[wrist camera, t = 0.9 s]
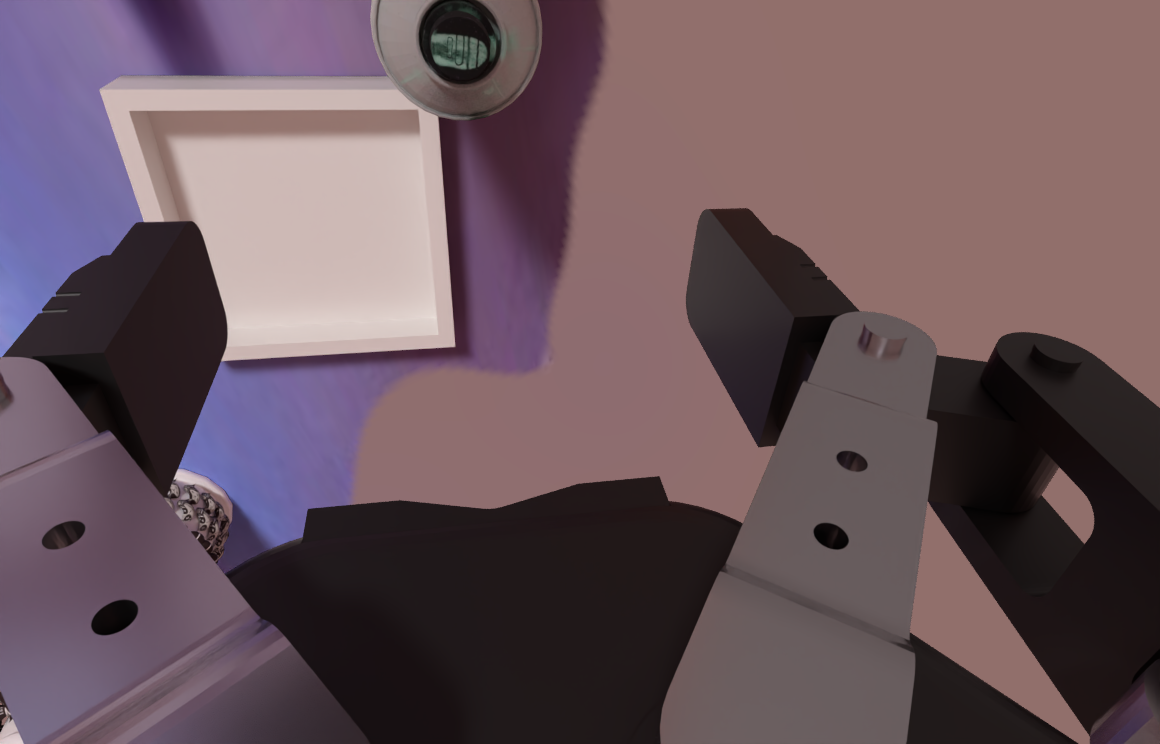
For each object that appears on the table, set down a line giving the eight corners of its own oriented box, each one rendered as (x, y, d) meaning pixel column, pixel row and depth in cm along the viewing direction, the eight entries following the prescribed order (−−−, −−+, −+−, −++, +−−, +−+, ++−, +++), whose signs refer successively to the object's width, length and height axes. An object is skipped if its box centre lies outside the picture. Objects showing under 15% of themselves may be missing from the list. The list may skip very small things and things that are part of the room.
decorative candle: (225, 558, 57) (112, 931, 36) (94, 536, 53) (-110, 937, 33) (252, 480, 52) (142, 851, 32) (113, 450, 49) (-108, 848, 29)
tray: (121, 75, 36) (99, 89, 34) (435, 76, 39) (435, 89, 36) (204, 336, 45) (192, 362, 43) (453, 323, 48) (455, 346, 45)
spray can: (518, 3, 37) (585, 96, 21) (428, 50, 38) (427, 176, 22) (468, -111, 34) (503, -103, 18) (371, -58, 35) (320, -4, 18)
